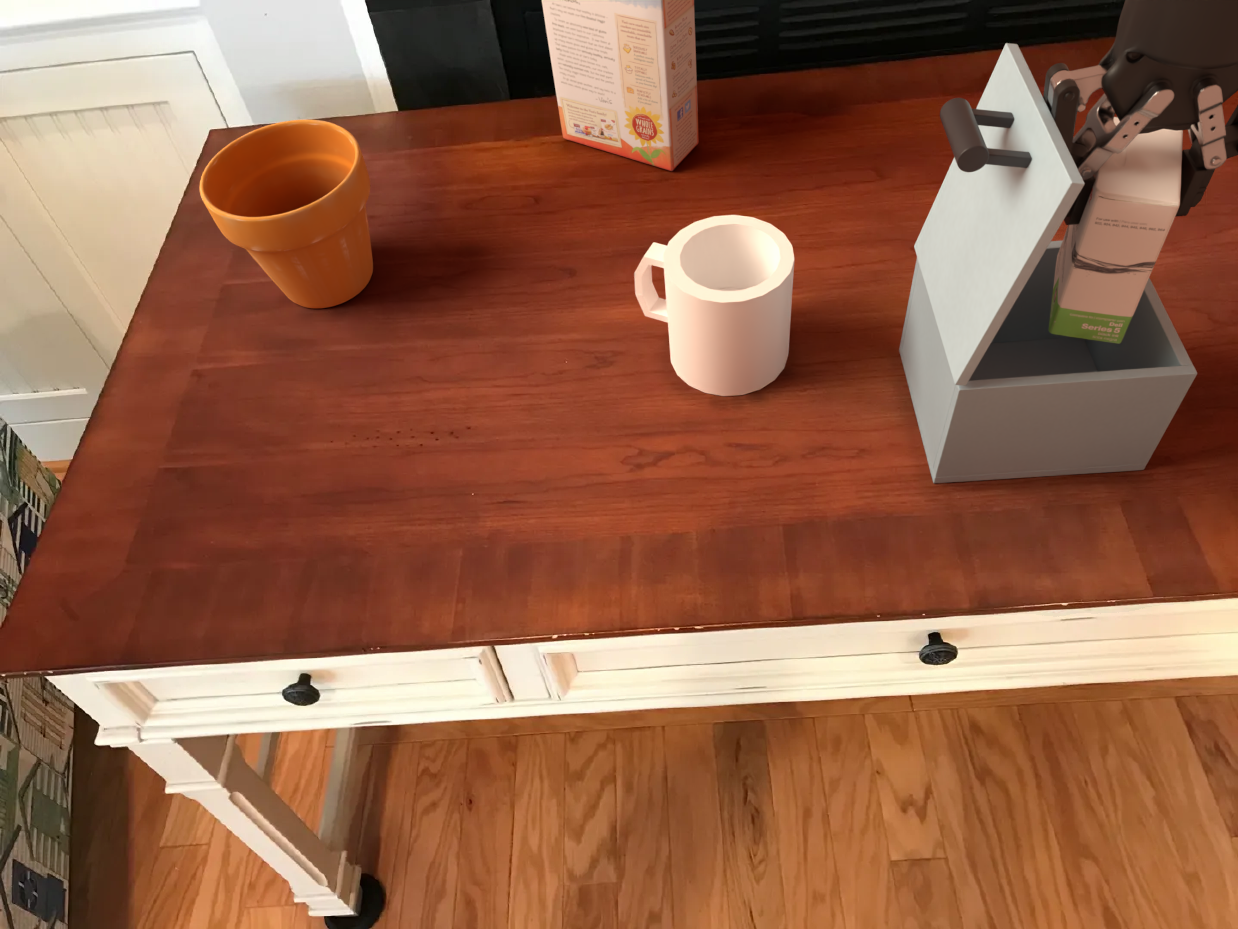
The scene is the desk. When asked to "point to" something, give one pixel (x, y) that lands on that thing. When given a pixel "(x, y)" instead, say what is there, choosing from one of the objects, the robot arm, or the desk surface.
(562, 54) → the cracker box
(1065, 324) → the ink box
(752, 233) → the mug
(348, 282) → the flower pot
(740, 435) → the desk surface
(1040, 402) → the chest
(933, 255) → the freezer lid
